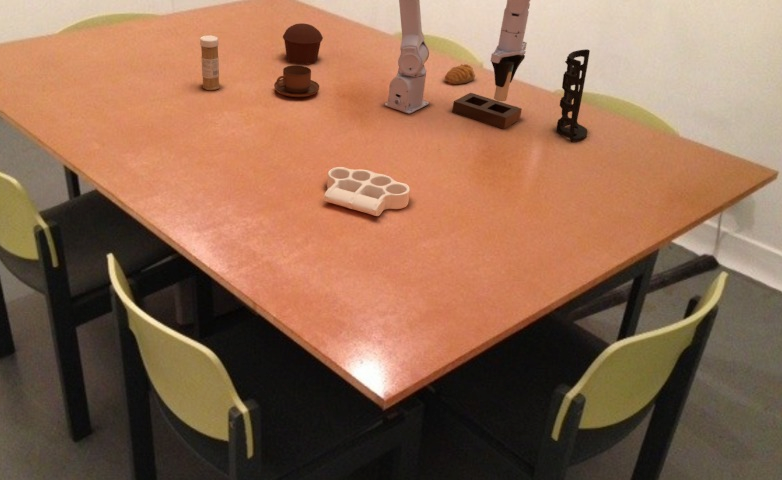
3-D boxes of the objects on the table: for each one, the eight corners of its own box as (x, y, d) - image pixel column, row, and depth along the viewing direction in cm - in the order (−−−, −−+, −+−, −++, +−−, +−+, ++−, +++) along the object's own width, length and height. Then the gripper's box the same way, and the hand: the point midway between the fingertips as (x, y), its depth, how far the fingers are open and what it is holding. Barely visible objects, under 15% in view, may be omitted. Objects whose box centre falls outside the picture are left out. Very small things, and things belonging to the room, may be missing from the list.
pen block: (503, 129, 193) (506, 118, 191) (452, 112, 201) (453, 101, 199) (519, 119, 199) (522, 108, 197) (468, 103, 206) (470, 92, 205)
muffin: (276, 62, 224) (277, 27, 219) (289, 50, 233) (290, 17, 228) (315, 68, 222) (316, 33, 216) (327, 56, 231) (328, 23, 225)
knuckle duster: (309, 201, 157) (340, 173, 168) (390, 224, 151) (417, 194, 162) (309, 186, 156) (341, 159, 167) (392, 210, 150) (419, 180, 161)
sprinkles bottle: (213, 83, 208) (212, 33, 200) (223, 88, 205) (221, 38, 198) (199, 86, 206) (196, 36, 198) (208, 92, 203) (206, 41, 195)
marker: (503, 102, 193) (509, 66, 188) (489, 98, 195) (495, 62, 190) (509, 99, 196) (516, 63, 190) (496, 94, 198) (502, 59, 192)
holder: (588, 143, 188) (600, 62, 177) (556, 142, 189) (566, 61, 179) (585, 126, 197) (596, 48, 186) (555, 125, 198) (564, 47, 188)
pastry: (458, 87, 215) (459, 74, 213) (438, 81, 219) (439, 68, 217) (476, 79, 221) (478, 66, 219) (456, 73, 225) (458, 60, 223)
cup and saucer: (299, 104, 199) (300, 81, 195) (264, 92, 205) (264, 69, 201) (328, 92, 207) (329, 70, 204) (293, 81, 213) (294, 59, 209)
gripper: (513, 40, 179) (503, 96, 186) (541, 27, 188) (530, 81, 196) (487, 33, 182) (477, 88, 190) (515, 20, 192) (505, 73, 199)
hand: (502, 84), depth 193 cm, fingers closed on marker, 3 cm apart
